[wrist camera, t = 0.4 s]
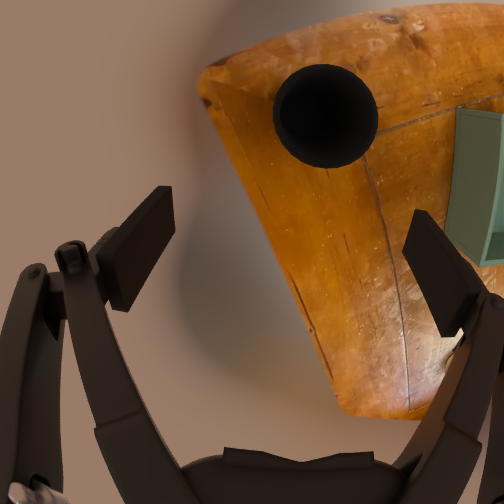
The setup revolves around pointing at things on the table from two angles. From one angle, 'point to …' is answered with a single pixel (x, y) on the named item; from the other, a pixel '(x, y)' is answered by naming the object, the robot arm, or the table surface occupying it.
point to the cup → (325, 116)
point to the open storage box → (478, 187)
